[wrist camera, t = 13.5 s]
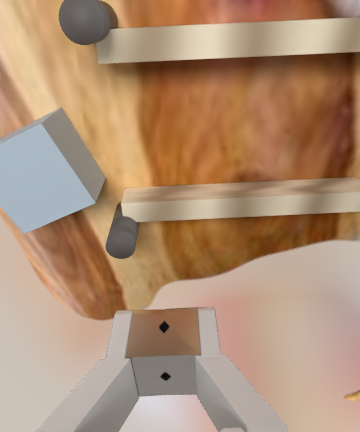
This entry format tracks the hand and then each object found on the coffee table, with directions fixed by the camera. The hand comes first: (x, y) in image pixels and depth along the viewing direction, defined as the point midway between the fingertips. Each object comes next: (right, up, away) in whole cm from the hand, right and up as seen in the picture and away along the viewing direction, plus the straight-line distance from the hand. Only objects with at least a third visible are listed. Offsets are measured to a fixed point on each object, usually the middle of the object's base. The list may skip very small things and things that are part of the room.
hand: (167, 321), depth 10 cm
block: (-11, +8, +19) cm, 23 cm away
